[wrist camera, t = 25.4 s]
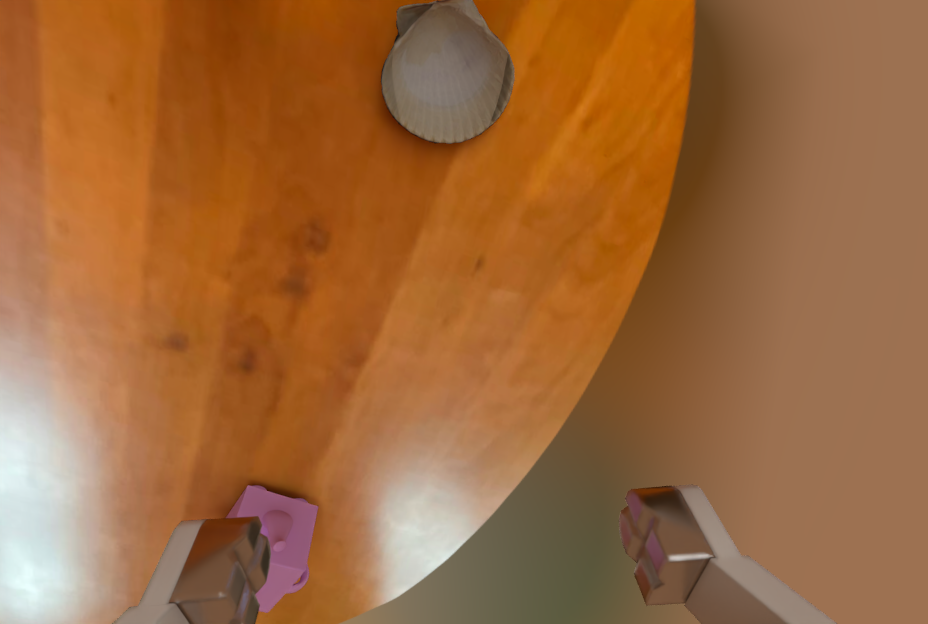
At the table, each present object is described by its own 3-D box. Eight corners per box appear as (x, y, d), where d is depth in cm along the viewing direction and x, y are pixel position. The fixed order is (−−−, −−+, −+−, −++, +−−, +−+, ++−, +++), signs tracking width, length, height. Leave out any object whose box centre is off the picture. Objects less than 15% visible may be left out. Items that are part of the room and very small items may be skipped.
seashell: (402, 131, 33) (514, 130, 32) (392, 150, 31) (511, 150, 30) (381, -7, 27) (516, -14, 26) (365, 4, 25) (512, -3, 24)
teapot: (235, 440, 46) (196, 532, 38) (354, 480, 51) (341, 569, 43) (178, 532, 54) (136, 625, 45) (287, 559, 58) (266, 648, 50)
